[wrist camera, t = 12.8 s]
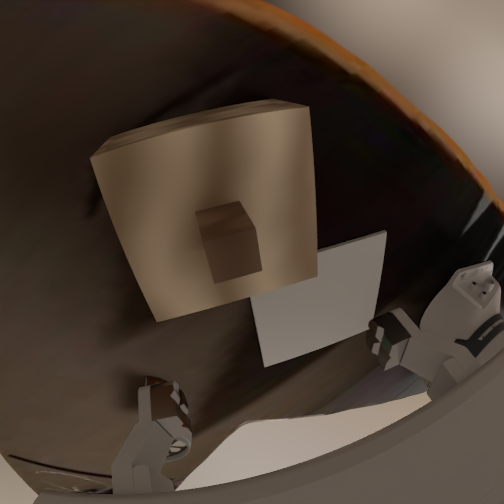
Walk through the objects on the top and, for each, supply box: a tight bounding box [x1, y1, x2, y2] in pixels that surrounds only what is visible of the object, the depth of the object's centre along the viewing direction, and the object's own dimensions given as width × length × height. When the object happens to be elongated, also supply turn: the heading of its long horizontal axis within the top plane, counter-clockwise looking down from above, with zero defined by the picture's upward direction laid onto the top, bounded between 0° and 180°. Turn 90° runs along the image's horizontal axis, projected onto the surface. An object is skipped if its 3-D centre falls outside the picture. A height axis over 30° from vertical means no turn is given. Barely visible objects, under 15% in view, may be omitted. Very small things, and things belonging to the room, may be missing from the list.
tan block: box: [90, 99, 318, 322], centre depth 22 cm, size 14×14×11 cm
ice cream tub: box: [145, 376, 192, 462], centre depth 37 cm, size 12×6×10 cm, turn 160°
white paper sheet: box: [250, 230, 387, 367], centre depth 38 cm, size 18×18×1 cm
